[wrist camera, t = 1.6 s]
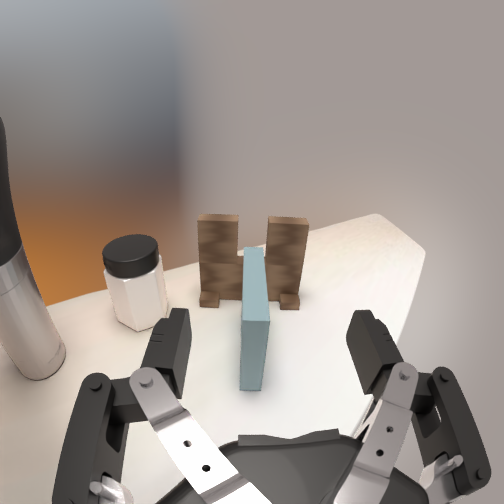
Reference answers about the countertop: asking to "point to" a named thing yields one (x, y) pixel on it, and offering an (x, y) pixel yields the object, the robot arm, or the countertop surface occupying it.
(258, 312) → the teal rectangular panel
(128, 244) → the jar
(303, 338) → the countertop surface
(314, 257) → the countertop surface
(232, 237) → the brown wooden u-shaped piece
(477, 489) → the robot arm
